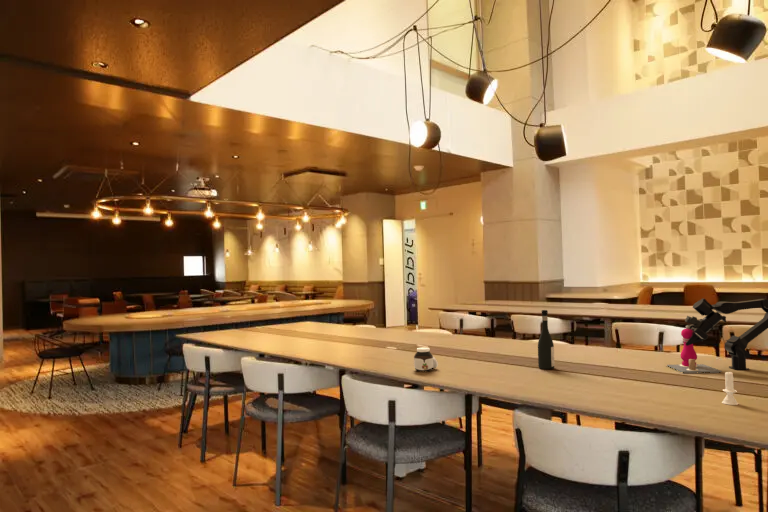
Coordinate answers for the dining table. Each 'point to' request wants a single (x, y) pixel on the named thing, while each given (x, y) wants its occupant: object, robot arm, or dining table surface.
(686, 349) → the pepper mill
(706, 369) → the board
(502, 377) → the dining table surface
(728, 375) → the candle
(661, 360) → the dining table surface
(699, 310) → the robot arm
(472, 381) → the dining table surface
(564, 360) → the dining table surface
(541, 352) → the wine bottle
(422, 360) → the spread jar
